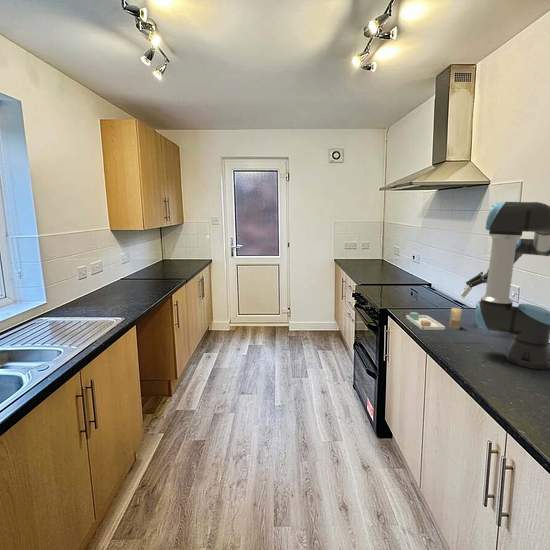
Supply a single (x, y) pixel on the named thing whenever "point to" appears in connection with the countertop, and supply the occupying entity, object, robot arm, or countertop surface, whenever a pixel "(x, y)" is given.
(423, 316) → the parts tray
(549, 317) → the robot arm
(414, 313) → the teal block
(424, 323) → the terracotta block
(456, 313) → the turned wooden pepper mill
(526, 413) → the countertop surface
